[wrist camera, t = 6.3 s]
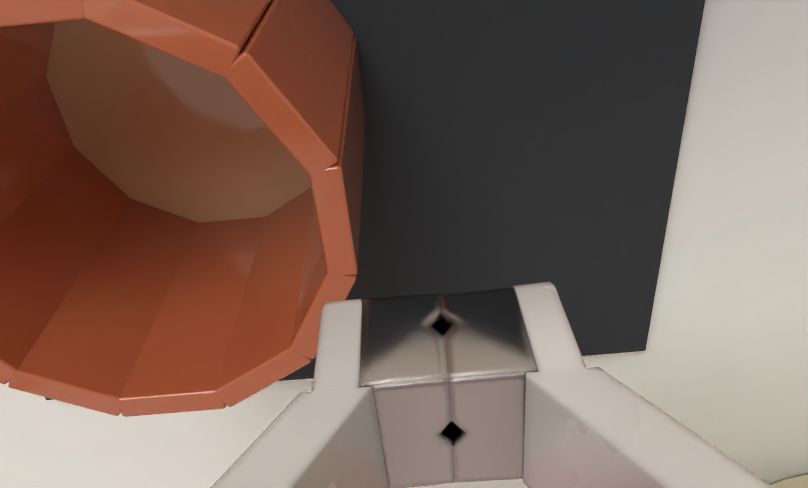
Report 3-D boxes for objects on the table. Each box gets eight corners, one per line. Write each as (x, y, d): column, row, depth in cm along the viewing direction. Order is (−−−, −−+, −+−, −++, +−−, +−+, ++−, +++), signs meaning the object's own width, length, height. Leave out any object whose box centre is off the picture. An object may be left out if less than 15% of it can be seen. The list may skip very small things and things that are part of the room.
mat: (-418, -450, 12) (-441, -458, 11) (795, -587, 11) (808, -599, 11) (50, 392, 24) (46, 400, 24) (642, 343, 23) (645, 351, 23)
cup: (339, -101, 15) (-21, -66, 15) (309, -45, 9) (-308, 15, 9) (377, 212, 20) (103, 236, 20) (376, 397, 13) (-26, 430, 13)
